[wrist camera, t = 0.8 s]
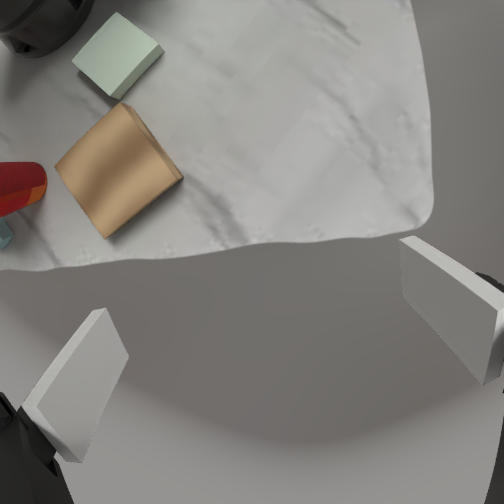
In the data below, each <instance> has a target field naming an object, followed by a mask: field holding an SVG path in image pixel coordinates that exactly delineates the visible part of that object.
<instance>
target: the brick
mask: <svg viewBox="0 0 504 504" xmlns="http://www.w3.org/2000/svg"><path fill="white" fill-rule="evenodd" d="M13 235H14V234H13V233H12V232H11V230H10V229H9V227H8V226H7V224H6V222H5V221H4V219H3V218H2V217H1V218H0V249H2V248H4V247H6V245H7V244H8V242H9V241H10V239H11V238H12V237H13Z"/></svg>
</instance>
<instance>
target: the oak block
mask: <svg viewBox="0 0 504 504" xmlns="http://www.w3.org/2000/svg"><path fill="white" fill-rule="evenodd" d="M54 167H55V169H56V171H57V172H58V174H59V175H60V177H61V178H62V180H63V181H64V183H65V184H66V186H67V187H68V189H69V190H70V192H71V193H72V194H73V196H74V197H75V199H76V200H77V202H78V203H79V205H80V206H81V207H82V209H83V210H84V212H85V213H86V214H87V216H88V217H89V219H90V220H91V221H92V223H93V224H94V225H95V227H96V228H97V230H98V231H99V232H100V234H101V235H102V236H103V238H104V239H106V238H108V237H109V236H111V235H112V234H114V233H115V232H117V231H118V230H119V229H120V228H122V227H123V226H124V225H125V224H126V223H127V222H129V221H130V220H131V219H132V218H133V217H134V216H136V215H137V214H138V213H139V212H140V211H142V210H143V209H144V208H145V207H146V206H148V205H149V204H150V203H151V202H153V201H154V200H155V199H156V198H157V197H159V196H160V195H161V194H162V193H164V192H165V191H166V190H167V189H169V188H170V187H171V186H173V185H174V184H175V183H176V182H178V181H179V180H180V179H182V178H183V177H184V176H183V175H182V174H181V172H180V171H179V170H178V168H177V167H176V166H175V164H174V163H173V162H172V160H171V159H170V158H169V156H168V155H167V154H166V152H165V151H164V149H163V148H162V147H161V145H160V144H159V143H158V141H157V140H156V139H155V137H154V136H153V135H152V133H151V132H150V131H149V129H148V128H147V126H146V125H145V124H144V122H143V121H142V120H141V118H140V117H139V116H138V114H137V113H136V112H135V110H134V109H133V107H132V106H129V105H126V104H124V103H121V102H119V103H118V104H117V105H116V106H115V107H114V108H113V109H111V110H110V111H109V112H108V113H107V114H106V115H105V116H104V117H103V118H102V119H100V120H99V121H98V122H97V123H96V124H95V125H94V126H93V127H92V128H91V129H90V130H89V131H88V132H87V133H86V134H85V135H84V136H83V137H82V138H81V139H80V140H79V141H78V142H77V143H76V144H75V145H74V146H73V147H72V148H71V149H70V150H69V151H68V152H67V153H66V154H65V155H64V156H63V157H62V158H61V160H60V161H59V162H58V163H57V164H56V165H55V166H54Z"/></svg>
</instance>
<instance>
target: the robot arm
mask: <svg viewBox="0 0 504 504" xmlns="http://www.w3.org/2000/svg"><path fill="white" fill-rule="evenodd" d="M93 1H94V0H0V39H1V41H2V42H3V43H4V44H5V45H6V46H7V48H8V49H9V50H10V51H12V52H13V53H15V54H17V55H20V56H23V57H26V58H37V57H41V56H44V55H47V54H49V53H51V52H53V51H54V50H56V49H57V48H59V47H60V46H62V45H63V44H64V43H65V42H67V41H68V40H69V39H70V38H71V37H72V36H73V35H74V34H75V33H76V31H77V30H78V29H79V28H80V26H81V25H82V24H83V22H84V21H85V19H86V17H87V16H88V14H89V12H90V10H91V7H92V4H93ZM399 246H400V259H401V275H402V296H403V297H404V298H405V299H406V300H407V301H408V302H409V304H410V305H411V306H412V307H413V308H414V309H415V310H416V311H417V312H418V313H419V314H420V315H421V316H422V317H423V318H424V319H425V320H426V322H427V323H428V324H429V325H430V326H431V327H432V328H433V329H434V330H435V331H436V333H437V334H439V336H440V337H441V338H442V339H443V340H444V341H445V343H446V344H447V345H448V346H449V347H450V348H451V349H452V350H453V351H454V353H455V354H456V355H457V356H458V357H459V358H460V359H461V361H462V362H463V363H464V364H465V365H466V366H467V368H468V369H469V370H470V371H471V372H472V374H473V375H474V376H475V377H476V378H477V379H478V381H479V382H480V383H481V384H482V385H484V384H486V383H488V382H490V381H492V380H494V379H496V378H497V377H499V376H500V374H501V370H502V366H503V362H504V285H502V284H501V283H498V282H497V281H496V280H495V279H493V278H491V277H490V276H488V275H484V274H481V273H478V272H477V273H473V272H472V271H470V270H468V269H467V268H466V267H464V266H462V265H461V264H459V263H458V262H456V261H455V260H453V259H451V258H450V257H448V256H447V255H445V254H443V253H442V252H440V251H438V250H437V249H435V248H434V247H432V246H430V245H429V244H427V243H425V242H424V241H422V240H420V239H419V238H417V237H415V236H411V237H407V238H403V239H399ZM128 359H129V355H128V354H127V352H126V350H125V347H124V346H123V344H122V341H121V339H120V337H119V335H118V333H117V331H116V329H115V326H114V324H113V322H112V320H111V318H110V315H109V313H108V311H107V308H102V309H98V310H93V311H92V312H91V313H90V315H89V316H88V317H87V318H86V320H85V321H84V322H83V323H82V325H81V326H80V327H79V328H78V330H77V331H76V332H75V333H74V335H73V336H72V337H71V338H70V340H69V341H68V342H67V344H66V345H65V346H64V347H63V349H62V350H61V352H60V353H59V354H58V355H57V357H56V358H55V359H54V361H53V362H52V363H51V365H50V366H49V367H48V369H47V370H46V371H45V373H44V374H43V375H42V377H41V378H40V380H39V381H38V382H37V384H36V385H35V386H34V388H33V389H32V391H31V392H30V393H29V395H28V396H27V397H26V399H25V400H24V402H23V403H22V405H21V406H20V408H19V409H18V411H17V412H16V410H15V409H14V408H13V406H12V405H11V403H10V402H9V401H8V399H7V398H6V396H5V395H4V393H2V392H0V504H74V502H73V500H72V497H71V495H70V492H69V490H68V488H67V485H66V482H65V480H64V477H63V474H62V471H61V469H60V466H59V464H58V462H57V461H56V460H55V458H54V455H55V453H56V451H57V452H58V453H59V454H60V455H61V456H62V457H63V459H64V460H65V461H67V462H76V463H82V462H83V459H84V456H85V454H86V452H87V449H88V447H89V445H90V442H91V440H92V437H93V435H94V433H95V430H96V428H97V426H98V424H99V421H100V419H101V417H102V415H103V412H104V410H105V408H106V406H107V403H108V401H109V399H110V397H111V395H112V392H113V390H114V388H115V386H116V384H117V382H118V380H119V377H120V375H121V373H122V371H123V369H124V367H125V365H126V363H127V360H128ZM503 393H504V390H503ZM484 504H504V418H503V425H502V431H501V437H500V443H499V448H498V452H497V457H496V462H495V466H494V471H493V474H492V479H491V482H490V486H489V489H488V493H487V496H486V500H485V503H484Z"/></svg>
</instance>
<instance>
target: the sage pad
mask: <svg viewBox="0 0 504 504" xmlns="http://www.w3.org/2000/svg"><path fill="white" fill-rule="evenodd" d="M164 52H165V51H164V50H163V49H162V47H161V46H160V45H159V44H158V43H157V42H155V41H154V40H153V39H152V38H150V37H149V36H148V35H147V34H145V33H144V32H143V31H141V30H140V29H139V28H137V27H136V26H135V25H133V24H132V23H131V22H129V21H128V20H127V19H125V18H124V17H123V16H121V15H120V14H119V13H117V12H115V13H114V14H113V15H112V16H111V17H110V18H109V19H108V20H107V21H106V22H105V24H104V25H103V26H102V27H101V28H100V29H99V30H98V31H97V32H96V33H95V34H94V35H93V36H92V37H91V39H90V40H89V41H88V42H87V43H86V44H85V45H84V47H83V48H82V49H81V50H80V51H79V52H78V54H77V55H76V56H75V57H74V58H73V60H72V62H73V63H74V64H75V65H76V66H77V67H78V68H79V69H80V70H82V71H83V72H84V73H85V74H86V75H87V76H88V77H89V78H90V79H91V80H93V81H94V82H95V83H96V84H97V85H98V86H99V87H100V88H101V89H103V90H104V91H105V92H106V93H107V94H108V95H109V96H111V97H113V98H116V99H119V100H120V98H121V97H122V96H123V95H124V94H125V93H126V92H127V90H128V89H129V88H130V87H131V86H132V85H133V84H134V83H135V82H136V80H137V79H138V78H139V77H140V76H141V75H142V74H143V73H144V72H145V71H146V70H147V69H148V68H149V67H150V66H151V65H152V64H153V63H154V62H155V61H156V60H157V59H158V58H159V57H160V56H161V55H162V54H163V53H164Z"/></svg>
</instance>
